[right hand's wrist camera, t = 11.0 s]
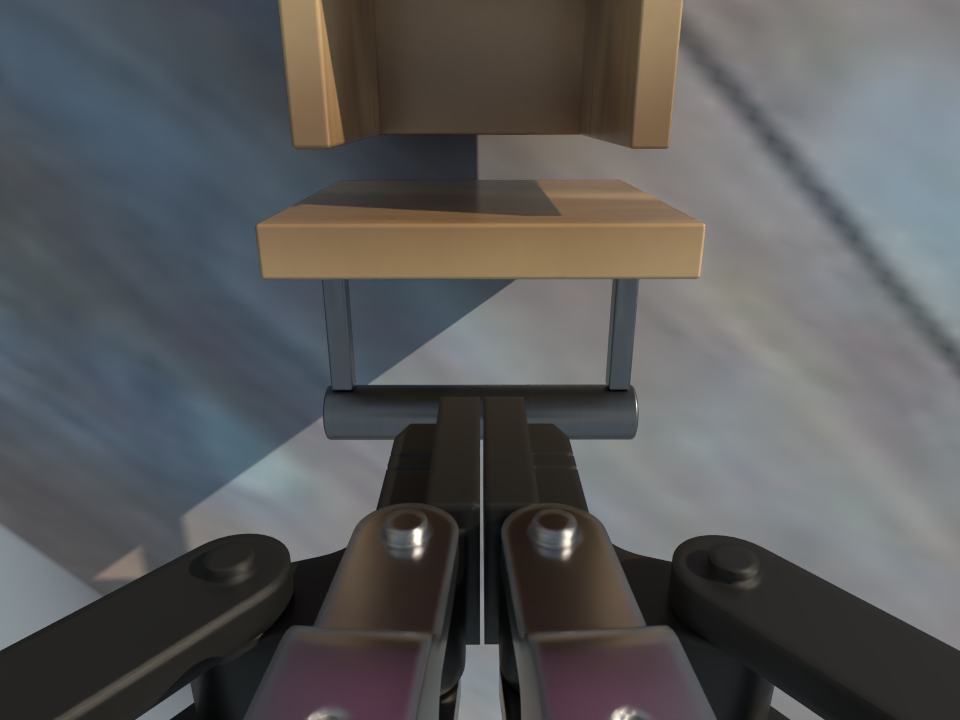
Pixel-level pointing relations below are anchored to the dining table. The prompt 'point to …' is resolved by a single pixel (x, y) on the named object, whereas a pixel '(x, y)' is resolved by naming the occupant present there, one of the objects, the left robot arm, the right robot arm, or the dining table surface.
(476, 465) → the right robot arm
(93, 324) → the dining table surface
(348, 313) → the drawer
